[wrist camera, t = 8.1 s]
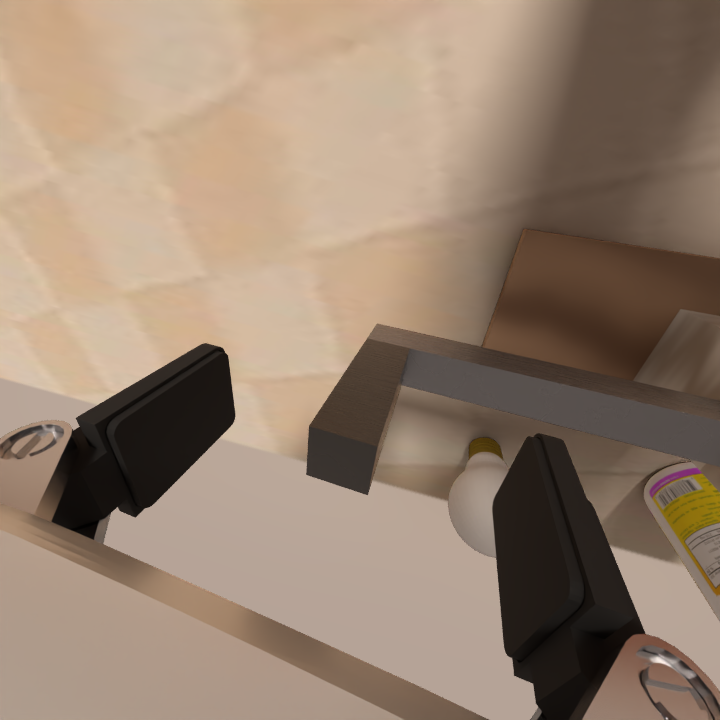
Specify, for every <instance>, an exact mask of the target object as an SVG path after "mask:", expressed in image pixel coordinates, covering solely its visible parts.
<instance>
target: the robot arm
mask: <svg viewBox="0 0 720 720" xmlns="http://www.w3.org/2000/svg"><path fill="white" fill-rule="evenodd" d="M76 420H77V422H78V424H79V426H80V427H79V428H77V429H76V430H74V431H73V429H72V427H71V425H70V424H69V423H67V422H65V421H59V420H47V421H40V422H36V423H31V424H29V425H26V426H23V427H20V428H18V429H16V430H14V431H11V432H9V433H7V434H6V435H4V436H3V437H1V438H0V720H488V719H486V718H484V717H482V716H480V715H478V714H476V713H474V712H472V711H469V710H467V709H465V708H463V707H461V706H459V705H457V704H455V703H453V702H451V701H449V700H447V699H444V698H442V697H440V696H438V695H436V694H434V693H432V692H430V691H428V690H425V689H424V688H421V687H419V686H417V685H415V684H413V683H411V682H408V681H406V680H404V679H402V678H399V677H397V676H395V675H393V674H391V673H389V672H386V671H384V670H382V669H380V668H378V667H375V666H373V665H371V664H369V663H367V662H364V661H362V660H360V659H358V658H355V657H353V656H351V655H349V654H347V653H344V652H342V651H340V650H338V649H336V648H334V647H331V646H329V645H327V644H325V643H323V642H320V641H318V640H316V639H313V638H311V637H309V636H307V635H305V634H303V633H301V632H298V631H296V630H294V629H292V628H290V627H287V626H285V625H282V624H281V623H278V622H276V621H274V620H272V619H269V618H267V617H265V616H263V615H261V614H258V613H256V612H254V611H252V610H249V609H247V608H245V607H243V606H241V605H238V604H236V603H234V602H232V601H229V600H227V599H225V598H222V597H221V596H218V595H216V594H214V593H212V592H209V591H207V590H205V589H202V588H200V587H198V586H196V585H193V584H192V583H189V582H187V581H185V580H183V579H180V578H178V577H176V576H174V575H171V574H169V573H167V572H165V571H162V570H160V569H158V568H156V567H153V566H151V565H149V564H147V563H144V562H142V561H139V560H137V559H135V558H133V557H131V556H128V555H126V554H124V553H121V552H119V551H117V550H115V549H113V548H110V547H108V546H106V545H104V544H103V542H104V538H105V534H106V530H107V526H108V522H109V519H110V514H111V512H112V511H113V510H115V509H116V508H117V507H118V508H119V510H120V511H121V512H124V513H126V514H128V515H131V516H133V517H137V515H138V514H139V513H141V512H142V511H143V509H145V508H148V507H150V506H152V505H153V504H154V503H155V502H156V501H157V500H158V499H159V498H160V497H161V496H162V495H163V494H164V493H165V492H166V491H167V490H168V489H169V488H170V487H171V486H172V485H173V484H174V483H175V482H176V481H177V480H178V479H179V478H180V477H181V476H182V475H183V474H184V473H185V472H186V471H187V470H188V469H189V468H190V467H191V466H192V465H193V464H194V463H195V462H196V461H197V460H198V459H199V458H200V457H201V456H202V455H203V454H204V453H205V452H206V451H207V450H208V449H209V448H210V447H211V446H212V445H213V444H214V443H215V442H216V441H217V440H218V439H219V438H220V437H221V436H222V435H223V434H224V433H225V432H226V431H227V430H228V429H229V428H230V427H231V425H232V424H233V422H234V420H235V408H234V400H233V392H232V384H231V376H230V367H229V359H228V355H227V354H226V353H225V351H224V349H223V348H221V347H218V346H214V345H211V344H207V343H204V344H201V345H199V346H198V347H196V348H194V349H193V350H191V351H189V352H187V353H186V354H184V355H182V356H181V357H179V358H177V359H176V360H174V361H172V362H170V363H169V364H167V365H165V366H164V367H162V368H160V369H158V370H157V371H155V372H153V373H152V374H150V375H148V376H147V377H145V378H143V379H141V380H140V381H138V382H136V383H135V384H133V385H131V386H129V387H128V388H126V389H124V390H123V391H121V392H119V393H117V394H116V395H114V396H112V397H111V398H109V399H107V400H106V401H104V402H102V403H100V404H99V405H97V406H95V407H94V408H92V409H90V410H88V411H87V412H85V413H83V414H82V415H80V416H78V417H77V418H76ZM492 514H493V525H494V537H495V548H496V560H497V571H498V582H499V594H500V606H501V617H502V627H503V628H502V629H503V640H504V648H505V652H506V654H507V655H508V656H509V657H511V658H512V659H513V667H514V676H517V677H519V678H521V679H524V680H526V681H529V682H531V683H533V685H534V691H535V698H536V704H537V705H538V709H537V711H536V712H535V713H534V715H533V716H532V718H531V719H530V720H720V691H719V690H718V688H717V687H716V686H715V684H714V683H713V682H712V681H711V679H710V678H709V677H708V676H707V675H706V674H705V673H704V672H703V671H702V670H701V669H700V668H699V667H698V666H697V665H696V664H695V663H694V662H693V661H692V660H691V659H690V658H689V657H687V656H686V655H685V654H684V653H682V652H681V651H680V650H679V649H677V648H676V647H675V646H672V645H671V644H669V643H667V642H666V641H663V640H662V639H660V638H658V637H655V636H651V635H647V634H645V631H644V629H643V627H642V624H641V622H640V619H639V617H638V614H637V612H636V610H635V607H634V604H633V602H632V600H631V598H630V595H629V592H628V590H627V587H626V585H625V582H624V580H623V578H622V575H621V573H620V570H619V568H618V565H617V563H616V561H615V558H614V556H613V553H612V551H611V548H610V546H609V543H608V541H607V538H606V536H605V533H604V531H603V529H602V526H601V524H600V521H599V519H598V516H597V514H596V511H595V509H594V507H593V506H592V504H591V503H590V502H589V501H588V500H587V498H586V496H585V493H584V491H583V488H582V486H581V483H580V481H579V478H578V476H577V473H576V470H575V468H574V465H573V463H572V460H571V458H570V455H569V453H568V450H567V448H566V445H565V443H564V441H563V440H561V439H558V438H555V437H551V436H547V435H544V434H540V433H538V434H536V435H535V436H534V437H530V436H529V437H527V438H526V440H525V442H524V444H523V445H522V447H521V449H520V451H519V453H518V455H517V456H516V458H515V460H514V462H513V464H512V466H511V468H510V469H509V471H508V473H507V475H506V477H505V479H504V480H503V482H502V484H501V486H500V488H499V490H498V492H497V493H496V495H495V497H494V500H493V505H492Z"/></svg>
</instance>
